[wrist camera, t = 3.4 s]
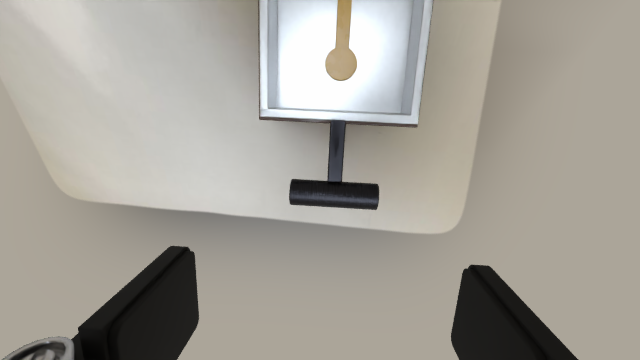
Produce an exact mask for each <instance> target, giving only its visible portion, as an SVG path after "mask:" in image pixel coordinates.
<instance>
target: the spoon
mask: <svg viewBox="0 0 640 360" xmlns="http://www.w3.org/2000/svg"><path fill="white" fill-rule="evenodd" d="M351 7H352V0H338V7H337V26H336V45H335V48H334V49H333V50H331V51H330V52H329V54H328V55H327V57H326V61H325V68H326V71H327V73H328V75H329V76H330V77H331V78H333V79H334V80H337V81H345V80H347V79H349V78H350V77H352V76H353V74H354V73H355V71H356V68H357V58H356V55H355V54H354V52H353V51H352V50H351V49H349V39H350V23H351Z"/></svg>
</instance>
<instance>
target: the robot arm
mask: <svg viewBox="0 0 640 360" xmlns="http://www.w3.org/2000/svg"><path fill="white" fill-rule="evenodd" d="M198 320H199V311H198V298H197V282H196V268H195V255H194V252H192V251H190V249H189V248H188V247H180V246H170V247H169V248H168V249H167V250H165V251H164V252H163V253H162V254H161V255H160V256H159V257H158V258H156V259H155V260H154V261H153V262H152V263H151V264H150V265H148V266H147V267H146V268H145V269H144V270H143V271H142V272H140V273H139V274H138V275H137V276H136V277H135V278H134V279H133V280H131V282H129V283H128V284H127V285H126V286H125V287H124V288H122V289H121V290H120V291H119V292H118V293H117V294H116V295H114V296H113V297H112V298H111V299H110V300H109V301H108V302H107V303H105V304H104V305H103V306H102V307H101V308H100V309H99V310H98V311H96V312H95V313H94V314H93V315H92V316H91V317H90V318H89V319H88V320H86V321H85V322H84V323H83V324H82V325H81V326H79V327H78V331H79V333H78V334H77V335H76V336H75V337H74V338H72V339H71V340H70V339H68V338H66V337H59V336H58V337H48V338H44V339H41V340H37V341H34V342H32V343H29V344H27V345H24V346H23V347H21V348H19V349H17V350H15V351H13V352H12V353H10V354H9V355H7V356H6V357H5V358H3V359H2V360H177V359H178V357H179V355H180V354H181V352H182V350H183V349H184V347H185V345H186V344H187V342H188V341H189V339H190V337H191V336H192V334H193V332H194V331H195V329H196V327H197V324H198ZM451 341H452V345H453V347H454V350H455V352H456V354H457V356H458V358H459V360H578V359H577V358H576V357H575V356H574V355H573V354H572V353H571V352H570V351H569V350H568V348H566V346H565V345H564V344H563V343H562V342H561V341H560V340H559V339H558V338H557V337H556V336H555V335H554V334H553V333H552V332H551V331H550V329H549V328H548V327H547V326H546V325H545V324H544V323H543V322H542V321H541V320H540V319H539V318H538V317H537V316H536V315H535V314H534V313H533V311H532V310H531V309H530V308H529V307H528V306H527V305H526V304H525V303H524V302H523V301H522V300H521V299H520V298H519V297H518V296H517V295H516V293H515V292H514V291H513V290H512V289H511V288H510V287H509V286H508V285H507V284H506V283H505V282H504V281H503V280H502V279H501V278H500V276H498V274H497V273H496V272H495V271H494V270H493V269H492V268H491V267H490V266H483V265H470V266H469V267H468V269H464V271H463V273H462V279H461V284H460V290H459V295H458V300H457V306H456V311H455V316H454V322H453V327H452V333H451Z"/></svg>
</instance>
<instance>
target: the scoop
mask: <svg viewBox="0 0 640 360" xmlns="http://www.w3.org/2000/svg"><path fill="white" fill-rule="evenodd" d="M433 1H434V0H352V7H351V23H350V39H349V49H351V50H352V51H353V52H354V54H355V55H356V58H357V68H356V71H355V73H354V74H353V76H352V77H350V78H349V79H347V80H345V81H337V80H334V79H333V78H331V77H330V76H329V75H328V73H327V71H326V68H325V61H326V57H327V55H328V54H329V52H330V51H331V50H333V49H334V48H335V45H336V26H337V7H338V0H259V51H260V117H278V118H299V119H319V120H331V123H330V142H329V161H328V180H327V181H318V180H300V179H292V180H291V184H290V193H289V200H290V204H291V205H305V206H321V207H338V208H354V209H371V210H376V209H377V207H378V202H379V186H378V184H371V183H353V182H342V172H343V157H344V141H345V126H346V121H360V122H381V123H401V124H418V120H419V112H420V104H421V96H422V88H423V80H424V72H425V64H426V56H427V48H428V41H429V33H430V25H431V17H432V9H433Z"/></svg>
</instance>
